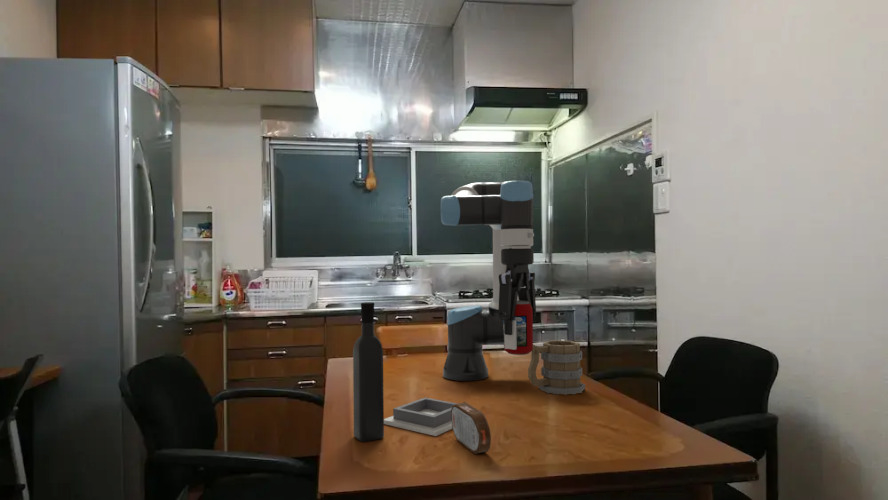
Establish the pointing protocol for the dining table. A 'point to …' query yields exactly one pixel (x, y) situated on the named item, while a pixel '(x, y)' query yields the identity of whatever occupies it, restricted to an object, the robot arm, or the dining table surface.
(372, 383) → the wine bottle
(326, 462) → the dining table surface
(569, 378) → the tankard
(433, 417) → the tray
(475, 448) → the tin
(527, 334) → the beverage can
